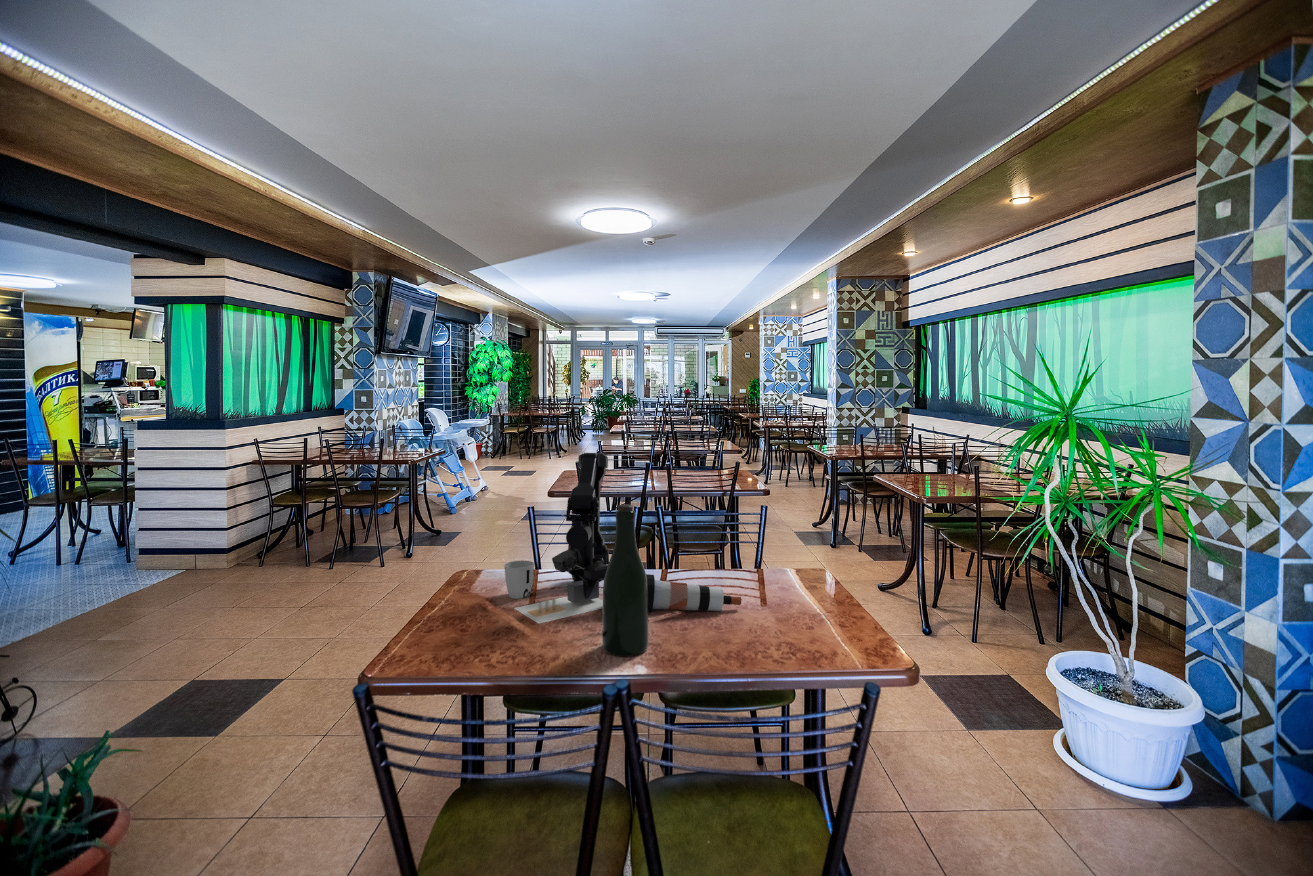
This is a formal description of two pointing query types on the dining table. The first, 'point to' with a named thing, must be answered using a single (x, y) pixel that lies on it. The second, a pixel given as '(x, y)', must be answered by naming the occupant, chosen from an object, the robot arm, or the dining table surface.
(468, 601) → the dining table surface
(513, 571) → the cup
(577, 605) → the board
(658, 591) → the striped bottle lying down
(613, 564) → the beer bottle
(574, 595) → the block
